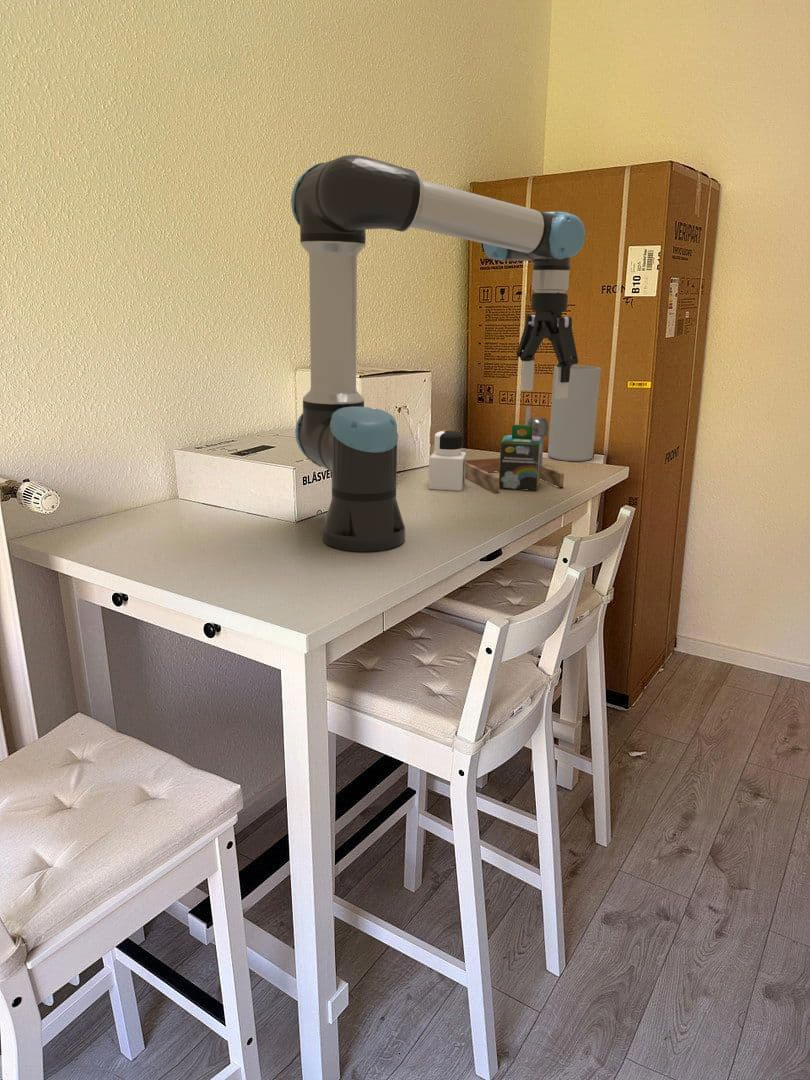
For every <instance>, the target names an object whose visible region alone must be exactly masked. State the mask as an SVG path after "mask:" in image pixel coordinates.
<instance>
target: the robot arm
mask: <svg viewBox="0 0 810 1080" xmlns="http://www.w3.org/2000/svg"><path fill="white" fill-rule="evenodd" d="M290 201H291V202H290V203H291V204H290V206H291V211H292V216H293V217H294V219H295V221H296V223H297V225H299V235H300V236H299V237H300V240H299V241H300V242H299V243H300V246H302V248H303V249H304V251H306V252H307V254H308V259H309V261H308V263H309V264H308V266H309V267H308V268H309V270H308V271H309V275H308V276H309V341H310V342H309V347H310V349H309V351H310V354H309V355H310V358H309V359H310V389H309V391H308V392H307V393H306V394H305V395H304V396H303V397H302V413H301V414H300V415H299V417H298V419H297V422H296V425H295V434H294V435H295V440H296V444H297V446H298V448H299V450H300V451H301V452H302V454H303V455H304V456H305V457H306V458H307V459H308V460H309V461H311V463H313V464H315V465H316V466H318V467H321V468H324V469H326V470H328V471H330V472H331V500H330V503H329V507H328V510H327V513H326V516H325V519H324V523H323V526H322V541H323V543H324V544H325V545H327V546H329V547H332V548H335V549H339V550H344V551H351V552H377V551H385V550H390V549H393V548H396V547H399V546H402V545H403V543H405V542H406V541H405V540H406V527H405V523H404V521H403V518H402V514H401V510H400V507H399V504H398V501H397V472H398V471H397V470H398V467H397V466H398V442H399V433H398V427H397V426H398V425H397V424H398V423H397V419H396V418H395V416H393V414H391V413H390V412H387V411H385V410H382V409H379V408H372V407H370V406H365V398H364V396H362V395H361V393H359V392H358V390H357V328H358V327H357V324H358V323H357V319H358V318H357V317H358V316H357V315H358V314H357V313H358V311H357V309H358V308H357V304H358V303H357V302H358V301H357V299H358V295H357V294H358V293H357V292H358V291H357V290H358V279H357V277H358V255H359V254H360V252H361V251H362V250H363V249H364V248H365V247H366V232H367V231H366V230H378V229H379V230H380V229H381V230H383V229H384V230H391V231H397V232H402V233H403V232H406V231H408V230H409V229H410V228H413V229H417V230H420V231H426V232H431V233H436V234H440V235H444V236H449V237H454V238H457V239H462V240H467V241H471V242H476V243H480V244H482V246H483V250H484V253H485V255H486V257H488V258H489V259H490V260H494V261H500V262H504V261H513V262H518V261H519V262H521V261H522V262H523V261H524V262H526V261H527V262H528V261H529V262H533V264H532V265H533V266H532V267H533V269H532V281H531V282H532V283H531V290H532V291H534V292H533V293H532V294H531V302H530V309H531V312H535V314H527V315H526V317H525V326H524V329H523V332H522V335H521V337H520V341H519V344H518V348H517V350H516V354H515V355H516V357H517V358H519V359H520V361H521V379H520V391H521V392H530V391H531V392H532V391H533V390H534V378H535V377H534V376H535V375H534V374H535V354H536V353H537V351H538V349H539V347H540V346H541V344H542V342H543V340H544V339H548V341H549V342H551V346H552V348H553V351H554V354H555V357H556V359H557V361H558V363H557V365H556V366H557V371H556V385H555V398H556V399H559V398H567V397H568V384H569V380H570V368H571V366H572V365H577V364H579V359H578V353H577V348H576V344H575V339H574V333H573V329H572V327H573V326H572V325H573V322H572V321H573V319H572V317H571V316H563V313H565V312H566V311H567V310H568V300H569V295H568V293H566V291H568V290H569V283H570V282H569V280H570V269H571V259H572V258H573V257H575V256H576V255H577V254H578V253H580V251H581V250H582V248H583V247H584V243H585V239H586V238H585V237H586V229H585V225H584V223H583V221H582V220H581V219H580V218H579V217H578V216H577V215H575V214H571V213H569V212H567V211H539V210H537V209H533V208H530V207H525V206H522V205H518V204H514V203H510V202H507V201H503V200H498V199H495V198H492V197H488V196H484V195H481V194H476V193H473V192H470V191H465V190H462V189H458V188H454V187H451V186H447V185H443V184H440V183H435V182H433V181H428V180H424V179H421V176H420V175H419V173H418V172H417V171H415V170H413V169H410V168H406V167H404V166H403V167H402V166H399V165H395V164H392V163H390V162H387V161H383V160H379V159H377V158H372V157H370V156H369V157H368V156H363V155H357V154H348V155H343V156H339V157H337V158H335V159H332V160H329V161H326V162H320V163H317V164H314V165H313V166H311V167H310V168H308V169H307V170H306V171H304V172H303V173H302V174H301V175H300V176H299V177H298V179H297V180H296V182H295V183H294V186H293V189H292V191H291V199H290Z"/></svg>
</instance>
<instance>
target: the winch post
mask: <svg viewBox="0 0 810 1080" xmlns="http://www.w3.org/2000/svg"><path fill="white" fill-rule="evenodd" d="M531 408H532V407H531V406H526V411H525V424H524V425H531V426H532V436H542V450H541V465H543V456H544V455H543V453H544V441H545V437H547V434H548V433H549V423H548V420H547V419H546V418H545V417H531V410H532V409H531ZM526 433H527V431H526V430H525V434H526Z"/></svg>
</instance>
